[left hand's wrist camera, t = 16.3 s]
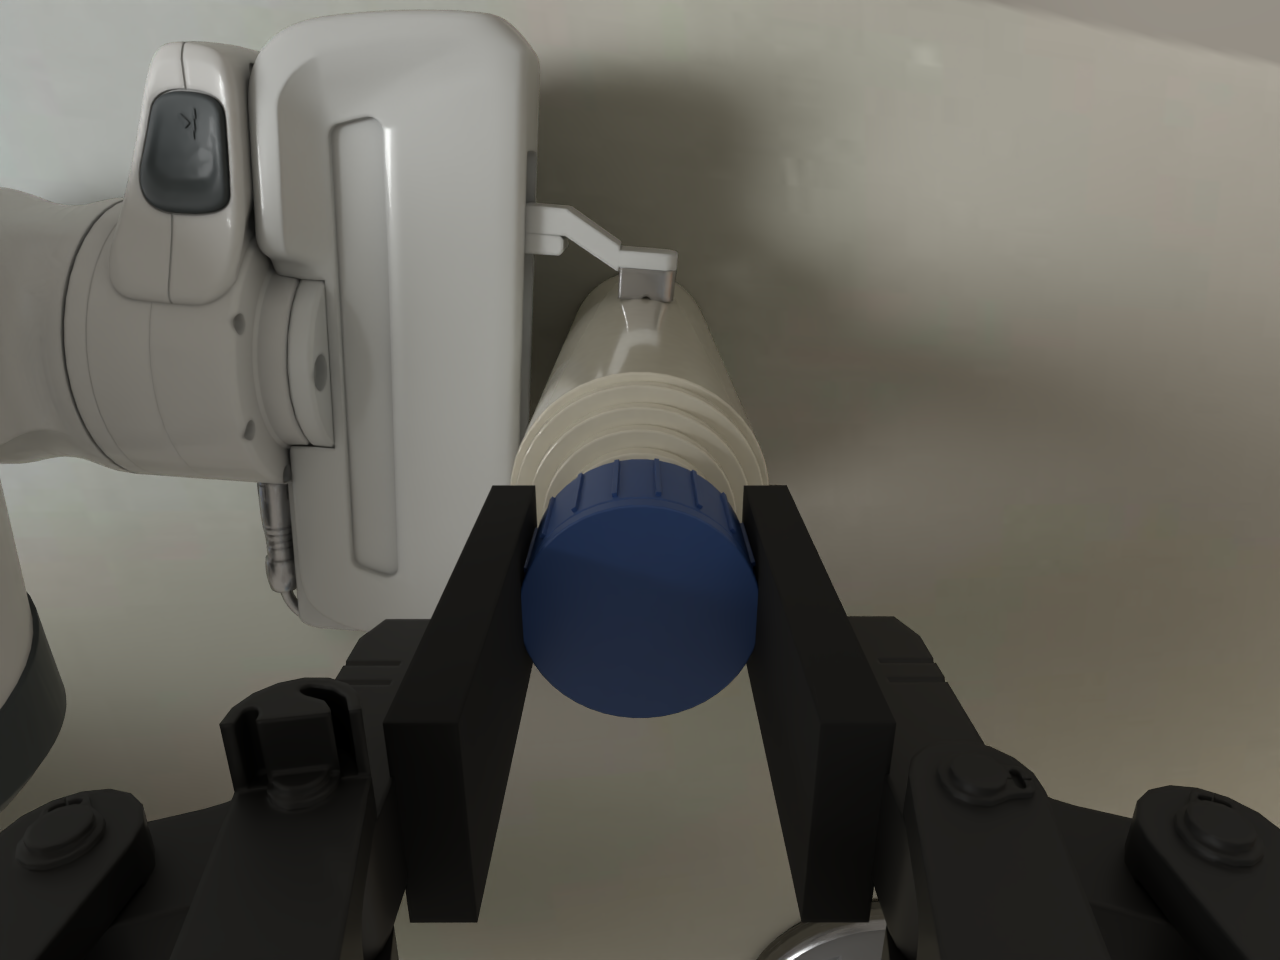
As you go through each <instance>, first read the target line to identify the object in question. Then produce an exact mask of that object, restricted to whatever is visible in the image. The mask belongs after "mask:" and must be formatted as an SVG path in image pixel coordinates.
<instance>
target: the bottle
mask: <svg viewBox="0 0 1280 960" xmlns="http://www.w3.org/2000/svg"><path fill="white" fill-rule="evenodd" d="M618 285H619V275H616V276H614V277H612V278H609V279H607V280H606V281H604V282H602V283H601V284H600V285H598V286H597V287H596V288H594V289H593V290H592V291H591V292H590V294H589V295H588V296H587V297H586V298H585V300H584V301H583V302H582V304H581V306H580V308H579V310H578V312H577V314H576V316H575V319H574V321H573V323H572V326H571V328H570V330H569V333H568V335H567V337H566V340H565V342H564V344H563V347H562V349H561V351H560V354H559V356H558V358H557V361H556V363H555V365H554V368H553V370H552V372H551V374H550V377H549V379H548V381H547V384H546V386H545V388H544V391H543V393H542V395H541V398H540V400H539V402H538V405H537V407H536V409H535V412H534V414H533V416H532V419H531V421H530V423H529V426H528V428H527V430H526V433H525V435H524V437H523V439H522V442H521V444H520V447H519V449H518V452H517V455H516V457H515V460H514V464H513V469H512V473H511V482H510V485H535V489H536V509H537V528H538V526H539V524H540V521H541V519H542V516H543V515H544V513H545V511H546V509H547V508H548V504H549V500H550V498H551V497H552V496H553V497H554V498H555V497H556V495H557V494H558V493H559V492H560V491H561V490H562V489H563V488H564V487H565V486H566V485H568V484H569V483H570V482H572V481H573V480H574V479H576V478H577V477H578V474H580V473H581V472H582V473H583V474H584V473H586V472H588V471H589V470H592V469H594V468H597V467H599V466H602V465H604V464H608V463H612V462H614V460H617V459H619V461H622V460H630V459H649V460H654V458H656V459H659V461H663V462H668V463H672V464H675V465H678V466H681V467H683V468H686V469H688V470H690V471H692V470H695V471H696V472H697V474H698V475H699V476H701V477H702V478H704V479H705V480H707V481H708V482H709V483H711V484H712V485H713V486H714V487H715V488H716V489H717V490H718V491H719V492H721V493H722V492H724V493H725V494H726V496H727V500H728V502H729V503H730V505H731V507H732V508H733V510H734V512H735V513H736V515H737V517H738V520H739V522H740V523H742V509H743V489H744V485H769V476H768V471H767V467H766V462H765V459H764V456H763V453H762V451H761V448H760V445H759V443H758V441H757V438H756V436H755V434H754V432H753V429H752V427H751V425H750V422H749V420H748V418H747V416H746V413H745V411H744V409H743V406H742V404H741V402H740V399H739V397H738V395H737V393H736V390H735V388H734V386H733V383H732V381H731V379H730V377H729V374H728V372H727V370H726V367H725V365H724V363H723V361H722V358H721V356H720V354H719V351H718V349H717V347H716V344H715V342H714V340H713V338H712V335H711V333H710V331H709V328H708V326H707V324H706V322H705V319H704V317H703V315H702V312H701V310H700V308H699V307H698V305H697V303H696V302H695V300H694V299H693V297H692V296H691V295H690V294H689V293H688V292H687V291H686V290H685V289H684V288H683V287H682V286H680V285H679V284H678V283H676V282H675V289H674V298H673V301H672V302H660V301H655V300H651V299H650V298H649V297H647V296H645V297H643V298H641V299H632V300H631V299H620V298H618Z"/></svg>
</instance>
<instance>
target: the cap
mask: <svg viewBox="0 0 1280 960" xmlns="http://www.w3.org/2000/svg"><path fill="white" fill-rule="evenodd" d="M754 566H755V560H754V556H753V553H752V550H751V546H750V543H749V539H748V536H747V533H746V529H745V526H744V523H743V522H742V523H740V522H739V520H738V517H737V515H736V513H735V512H734V510H733V508H732V507H731V505H730V503H729V502H728V500H727V496H726V494H725V493H724V492H722V493H721V492H719V491H718V490H717V489H716V488H715V487H714V486H713V485H712V484H711V483H709V482H708V481H707V480H705V479H704V478H702V477H701V476H699V475H698V474H697V472H696V471H695V470H692V471H690V470H688V469H686V468H683V467H681V466H678V465H675V464H672V463H668V462H663V461H659V459H656V458H654V460H649V459H630V460H622V461H619V459H617V460H614V462H612V463H608V464H604V465H602V466H599V467H597V468H594V469H592V470H589V471H588V472H586V473H584V474H583V473H582V472H581V473H580V474H578V477H577V478H576V479H574V480H573V481H572V482H570V483H569V484H568V485H566V486H565V487H564V488H563V489H562V490H561V491H560V492H559V493H558V494H557V495H556V497H555V498H554V497H553V496H552V497H551V498H550V500H549V504H548V508H547V509H546V511H545V513H544V515H543V516H542V519H541V521H540V524H539V526H538V528H535V531H534V534H533V538H532V541H531V544H530V548H529V551H528V555H527V558H526V562H525V565H524V572H525V575H524V579H523V582H522V587H521V605H522V621H523V638H524V645H525V647H526V650H527V652H528V654H529V656H530V658H531V659H532V661H533V663H534V665H535V666H536V667H537V669H538V670H539V671H540V673H541V674H542V675H543V676H544V677H545V678H546V679H547V680H548V682H549V683H550V684H551V685H552V686H554V687H555V688H556V689H557V690H559V691H560V692H561V693H562V694H564V695H565V696H567V697H568V698H570V699H572V700H573V701H575V702H577V703H579V704H581V705H583V706H585V707H587V708H590V709H593V710H596V711H598V712H601V713H605V714H610V715H614V716H620V717H629V718H651V717H660V716H666V715H670V714H675V713H678V712H681V711H684V710H687V709H690V708H693V707H695V706H697V705H699V704H701V703H703V702H705V701H707V700H708V699H710V698H711V697H713V696H714V695H716V694H718V693H719V692H720V691H721V690H722V689H724V688H725V687H726V686H727V685H729V683H730V682H731V681H732V680H733V679H734V678H735V677H736V676H737V675H738V674H739V673H740V671H741V670H742V668H743V667H744V666H745V664H746V663H747V661H748V659H749V657H750V655H751V654H752V652H753V650H754V647H755V638H756V621H757V604H758V583H757V579H756V576H755V572H754V569H753V567H754Z"/></svg>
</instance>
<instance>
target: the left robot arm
mask: <svg viewBox="0 0 1280 960" xmlns="http://www.w3.org/2000/svg"><path fill="white" fill-rule="evenodd" d="M742 522H743V523H744V526H745V529H746V533H747V536H748V539H749V543H750V546H751V550H752V553H753V556H754V560H755V566H754V567H753V569H754V572H755V576H756V579H757V583H758V604H757V621H756V638H755V647H754V650H753V652H752V654H751V655H750V657H749V659H748V661H747V663H746V664H747V669H748V673H749V678H750V683H751V687H752V692H753V697H754V701H755V706H756V711H757V715H758V720H759V725H760V729H761V734H762V739H763V744H764V748H765V753H766V758H767V762H768V767H769V772H770V776H771V781H772V786H773V790H774V795H775V800H776V804H777V809H778V814H779V818H780V823H781V828H782V832H783V837H784V842H785V846H786V851H787V856H788V860H789V865H790V870H791V874H792V879H793V884H794V888H795V893H796V898H797V902H798V907H799V912H800V916H801V921H802V922H801V923H799V924H797V925H796V926H794V927H792V928H791V929H789V930H788V931H786V932H785V933H783V934H782V935H781V936H779V937H778V938H777V939H776V940H774V941H773V942H772V943H771V944H770V945H769V946H768V947H767V948H766V949H765V950H764V951H763V952H762V953H761V955H760V956H759V957H758V958H757V960H1280V829H1279V828H1278V827H1277V826H1275V825H1274V824H1273V823H1271V822H1270V821H1269V820H1267V819H1266V818H1265V817H1263V816H1262V815H1261V814H1260V813H1258V812H1256V811H1254V810H1252V809H1250V808H1248V807H1246V806H1244V805H1242V804H1240V803H1238V802H1236V801H1234V800H1232V799H1230V798H1228V797H1225V796H1222V795H1219V794H1216V793H1212V792H1209V791H1206V790H1203V789H1199V788H1193V787H1182V786H1172V785H1169V786H1164V787H1160V788H1155V789H1151V790H1148V791H1147V792H1146V793H1145V794H1144V795H1143V796H1142V797H1141V798H1140V799H1139V800H1138V801H1137V804H1136V807H1135V811H1134V814H1133V818H1127V817H1123V816H1118V815H1114V814H1110V813H1105V812H1101V811H1096V810H1092V809H1088V808H1083V807H1079V806H1075V805H1071V804H1068V803H1064V802H1061V801H1058V800H1054V799H1052V798H1050V797H1048V796H1047V794H1046V791H1045V790H1044V788H1043V787H1042V785H1041V784H1040V782H1039V781H1038V779H1037V778H1036V776H1035V775H1034V773H1033V772H1031V771H1030V770H1029V769H1028V768H1026V767H1025V766H1024V765H1022V764H1021V763H1020V762H1019V761H1017V760H1016V759H1015V758H1013V757H1011V756H1009V755H1007V754H1005V753H1003V752H1001V751H998V750H996V749H994V748H992V747H990V746H986V745H985V744H984V742H983V741H982V739H981V737H980V736H979V734H978V732H977V731H976V729H975V727H974V726H973V724H972V722H971V721H970V719H969V717H968V716H967V714H966V712H965V711H964V709H963V707H962V706H961V704H960V702H959V701H958V699H957V697H956V696H955V694H954V692H953V691H952V689H951V687H950V686H949V684H948V682H945V680H944V679H945V677H944V676H943V674H942V672H941V671H940V669H939V667H938V666H937V664H936V663H934V662H933V657H932V656H931V654H930V652H929V651H928V649H927V647H926V646H925V644H924V642H923V641H922V639H921V637H920V636H919V635H918V634H917V633H915V632H914V631H912V630H911V629H910V628H908V627H907V626H906V625H904V624H903V623H902V622H900V621H899V620H898V619H896V618H895V617H886V616H847V615H846V613H845V611H844V609H843V606H842V604H841V602H840V600H839V598H838V596H837V593H836V591H835V589H834V587H833V585H832V583H831V580H830V578H829V576H828V574H827V572H826V570H825V567H824V565H823V563H822V561H821V559H820V557H819V554H818V552H817V550H816V548H815V546H814V544H813V541H812V539H811V537H810V535H809V533H808V531H807V528H806V526H805V524H804V522H803V520H802V518H801V515H800V513H799V511H798V509H797V507H796V505H795V502H794V500H793V498H792V496H791V494H790V492H789V489H788V487H787V485H744V489H743V509H742ZM535 528H537V509H536V489H535V485H492V487H491V489H490V492H489V494H488V496H487V498H486V500H485V502H484V505H483V507H482V509H481V511H480V513H479V515H478V518H477V520H476V522H475V524H474V526H473V528H472V531H471V533H470V535H469V537H468V539H467V541H466V544H465V546H464V548H463V550H462V552H461V554H460V557H459V559H458V561H457V563H456V565H455V567H454V570H453V572H452V574H451V576H450V578H449V580H448V582H447V585H446V587H445V589H444V591H443V593H442V595H441V598H440V600H439V602H438V604H437V606H436V608H435V611H434V613H433V615H432V617H431V619H385V620H384V621H382V622H381V623H380V624H378V625H377V626H376V627H374V628H373V629H372V630H370V631H369V632H368V633H366V634H365V635H364V636H362V637H361V638H360V639H359V640H358V642H357V644H356V645H355V647H354V649H353V650H352V652H351V654H350V656H349V657H348V659H347V661H346V666H343V667H342V669H341V671H340V672H339V674H338V676H337V677H336V679H335V680H334V679H331V678H301V679H296V680H291V681H286V682H281V683H277V684H275V685H272V686H270V687H267V688H265V689H263V690H260V691H258V692H255V693H253V694H251V695H250V696H249V697H247V698H246V699H244V700H243V701H241V702H240V703H238V704H237V705H236V706H234V707H233V708H232V709H231V710H230V711H229V713H228V714H227V715H226V716H225V718H224V719H223V720H222V722H221V723H220V724H219V725H220V729H221V734H222V738H223V743H224V747H225V751H226V756H227V760H228V765H229V769H230V774H231V778H232V782H233V787H234V791H235V793H234V795H233V798H232V800H231V801H228V802H226V803H223V804H220V805H216V806H213V807H210V808H206V809H202V810H198V811H194V812H189V813H185V814H181V815H176V816H172V817H167V818H163V819H159V820H154V821H150V822H147V819H146V815H145V811H144V808H143V805H142V804H141V803H140V802H139V801H138V800H137V799H136V798H135V797H134V796H133V795H132V794H131V793H126V792H122V791H117V790H113V789H104V790H93V791H83V792H79V793H76V794H73V795H70V796H66V797H63V798H60V799H57V800H53V801H51V802H49V803H47V804H45V805H43V806H41V807H39V808H37V809H35V810H33V811H31V812H29V813H27V814H25V815H23V816H21V817H20V818H19V819H18V820H16V821H15V822H14V823H12V824H11V825H10V826H8V827H7V828H6V829H5V830H3V831H2V832H1V833H0V960H399V959H398V951H397V944H396V937H395V930H394V922H395V919H396V916H397V913H398V910H399V907H400V903H401V900H402V897H403V894H404V891H405V889H406V897H407V904H408V911H409V918H410V923H429V922H477V921H478V916H479V912H480V907H481V902H482V898H483V893H484V888H485V884H486V879H487V874H488V870H489V865H490V860H491V856H492V851H493V846H494V842H495V837H496V832H497V828H498V823H499V818H500V814H501V809H502V804H503V800H504V795H505V790H506V786H507V781H508V776H509V772H510V767H511V762H512V758H513V753H514V748H515V744H516V739H517V734H518V730H519V725H520V720H521V716H522V711H523V706H524V702H525V697H526V692H527V688H528V683H529V678H530V674H531V669H532V664H533V661H532V659H531V658H530V656H529V654H528V652H527V650H526V647H525V645H524V638H523V621H522V605H521V587H522V582H523V579H524V575H525V572H524V565H525V562H526V558H527V555H528V551H529V548H530V544H531V541H532V538H533V534H534V531H535ZM874 887H875V890H876V893H877V896H878V899H879V902H872V897H873V890H874Z"/></svg>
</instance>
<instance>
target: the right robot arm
mask: <svg viewBox="0 0 1280 960" xmlns="http://www.w3.org/2000/svg"><path fill="white" fill-rule="evenodd" d="M539 86H540V63H539V59H538V56H537V54H536V53H535V52H534V50H533V49H532V47H531V46H530V44H529V43H528V42H527V40H526V39H525V38H524V37H523V35H522V34H521V33H520V32H519V31H518V30H517V29H516V28H515V27H514V26H513V25H512V24H510V23H509V22H508V21H507V20H505V19H503V18H501V17H499V16H496V15H493V14H488V13H481V12H470V11H457V10H389V11H370V12H358V13H346V14H337V15H329V16H322V17H316V18H311V19H308V20H304V21H301V22H298V23H295V24H293V25H290V26H288V27H287V28H285V29H283V30H281V31H280V32H278V33H277V34H275V35H274V36H273V37H272V38H271V39H270V40H269V41H268V42H267V43H266V44H265V45H264V46H263V48H262V49H261V51H260V52H259V51H255V50H251V49H248V48H244V47H240V46H235V45H229V44H221V43H213V42H196V41H190V42H172V43H167V44H165V45H163V46H161V47H160V48H159V49H158V50H157V51H156V52H155V54H154V56H153V58H152V60H151V63H150V66H149V69H148V74H147V79H146V84H145V90H144V96H143V102H142V108H141V114H140V120H139V126H138V132H137V137H136V143H135V148H134V153H133V159H132V164H131V168H130V173H129V178H128V182H127V187H126V191H125V195H124V198H113V199H108V200H103V201H98V202H94V203H90V204H85V205H72V206H70V205H62V204H57V203H53V202H50V201H47V200H45V199H42V198H40V197H37V196H34V195H32V194H28V193H25V192H22V191H18V190H14V189H10V188H4V187H0V464H21V463H29V462H35V461H40V460H45V459H49V458H55V457H77V458H82V459H86V460H89V461H92V462H94V463H97V464H100V465H102V466H105V467H108V468H111V469H114V470H118V471H123V472H129V473H136V474H148V475H161V476H175V477H189V478H203V479H218V480H231V481H245V482H257V487H258V495H259V504H260V514H261V520H262V525H263V529H264V532H265V537H266V544H267V555H266V561H265V564H266V574H267V578H268V582H269V585H270V587H271V589H272V590H273V591H275V592H278V593H281V595H282V597H283V600H284V601H285V603H286V604H287V606H288V607H289V608H290V609H291V610H292V611H293V612H294V613H295V614H296V615H297V616H299V618H300V619H301V621H302V622H303V623H305V624H308V625H310V626H314V627H318V628H327V629H342V630H362V631H366V632H369V631H370V630H372V629H373V628H374V627H376V626H377V625H378V624H380V623H381V622H382V621H384V620H385V619H431V617H432V615H433V613H434V611H435V608H436V606H437V604H438V602H439V600H440V598H441V595H442V593H443V591H444V589H445V587H446V585H447V582H448V580H449V578H450V576H451V574H452V572H453V570H454V567H455V565H456V563H457V561H458V559H459V557H460V554H461V552H462V550H463V548H464V546H465V544H466V541H467V539H468V537H469V535H470V533H471V531H472V528H473V526H474V524H475V522H476V520H477V518H478V515H479V513H480V511H481V509H482V507H483V505H484V502H485V500H486V498H487V496H488V494H489V492H490V489H491V487H492V485H510V482H511V473H512V469H513V464H514V460H515V457H516V455H517V452H518V449H519V447H520V444H521V442H522V439H523V437H524V435H525V433H526V430H527V428H528V426H529V414H530V381H531V349H532V316H533V283H534V254H543V255H557V256H560V254H561V253H562V252H563V251H564V250H565V249H566V248H567V247H568V246H569V239H570V240H572V241H573V242H575V243H576V244H578V245H579V246H581V247H582V248H584V249H585V250H586V251H588V252H589V253H591V254H592V255H594V256H595V257H597V258H598V259H600V260H601V261H603V262H604V263H606V264H607V265H609V266H610V267H612V268H613V269H614V270H616V271H617V272H618V270H619V285H618V298H620V299H631V300H632V299H641V298H643V297H645V296H647V297H649V298H650V299H651V300H655V301H660V302H672V301H673V298H674V289H675V280H676V272H677V260H678V253H677V251H674V250H669V249H660V248H648V247H636V246H624V245H621V241H620V240H619V239H618V238H616V237H615V236H613V235H612V234H611V233H609V232H608V231H606V230H605V229H603V228H602V227H601V226H599V225H598V224H596V223H595V222H594V221H592V220H591V219H589V218H588V217H587V216H585V215H584V214H582V213H581V212H580V211H578V210H577V209H575V208H574V207H572V206H571V205H559V204H547V203H536V186H537V153H538V120H539ZM296 588H297V597H298V599H297V598H296V596H295V595H294V593H293V590H295V589H296ZM65 711H66V693H65V688H64V685H63V682H62V680H61V677H60V674H59V671H58V669H57V666H56V663H55V660H54V658H53V655H52V652H51V649H50V647H49V644H48V641H47V638H46V636H45V633H44V630H43V627H42V624H41V621H40V618H39V615H38V613H37V610H36V607H35V605H34V603H33V601H32V599H31V597H30V595H29V594H28V593H27V592H26V588H25V584H24V580H23V575H22V571H21V567H20V562H19V558H18V554H17V549H16V545H15V541H14V536H13V532H12V528H11V523H10V519H9V515H8V510H7V506H6V502H5V497H4V493H3V489H2V484H1V480H0V812H1V811H2V810H3V809H4V808H5V807H6V806H7V805H8V804H9V803H10V802H11V801H12V800H13V798H14V797H15V796H16V795H17V794H18V793H19V791H20V790H21V789H22V788H23V787H24V785H25V784H26V783H27V782H28V780H29V779H30V778H31V776H32V775H33V774H34V772H35V771H36V770H37V768H38V767H39V765H40V764H41V763H42V761H43V760H44V758H45V757H46V756H47V754H48V752H49V751H50V749H51V748H52V746H53V744H54V742H55V741H56V738H57V736H58V734H59V732H60V730H61V727H62V724H63V721H64V717H65Z"/></svg>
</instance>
